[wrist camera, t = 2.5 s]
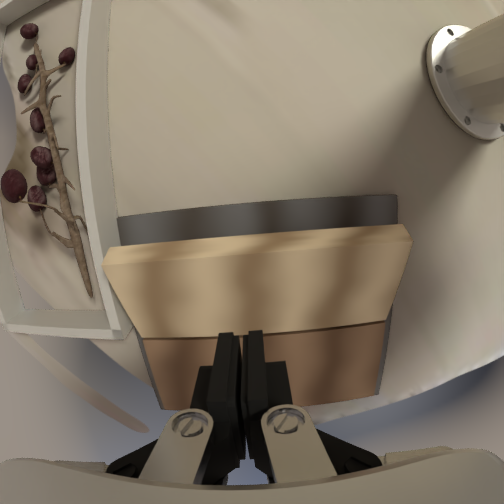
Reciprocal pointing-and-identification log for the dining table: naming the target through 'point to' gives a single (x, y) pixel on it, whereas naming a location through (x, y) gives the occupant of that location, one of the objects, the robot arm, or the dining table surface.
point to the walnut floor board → (260, 226)
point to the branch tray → (92, 185)
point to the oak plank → (260, 281)
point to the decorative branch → (46, 155)
